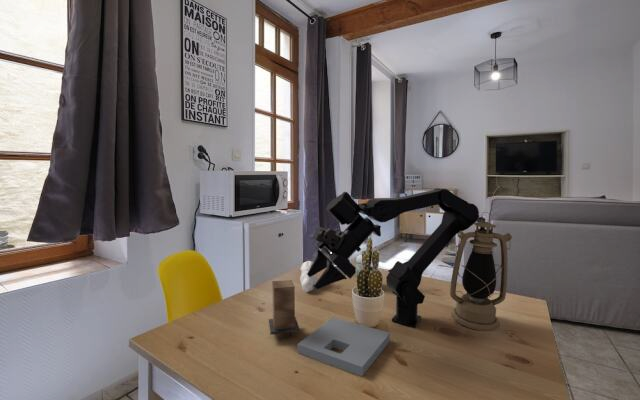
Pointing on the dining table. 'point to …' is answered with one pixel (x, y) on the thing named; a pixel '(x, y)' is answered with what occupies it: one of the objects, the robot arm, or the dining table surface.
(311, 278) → the white lumpy upright piece
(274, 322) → the walnut peg
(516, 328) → the dining table surface
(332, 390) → the dining table surface
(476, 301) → the lantern
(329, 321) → the slate board
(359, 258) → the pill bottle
